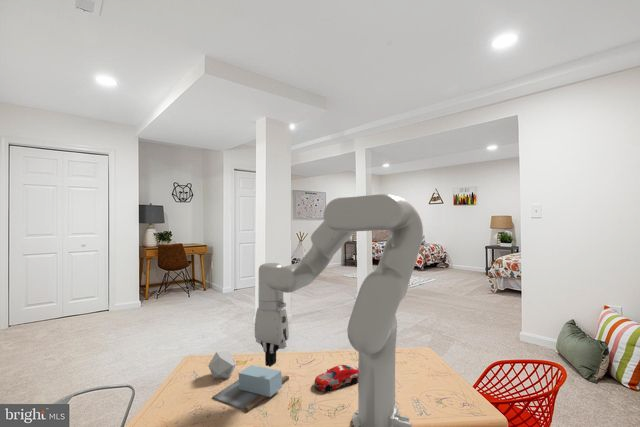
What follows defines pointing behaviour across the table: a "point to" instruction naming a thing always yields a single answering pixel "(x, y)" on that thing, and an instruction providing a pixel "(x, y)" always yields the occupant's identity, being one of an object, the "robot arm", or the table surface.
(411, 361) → the table surface
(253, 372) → the tall block
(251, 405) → the mat
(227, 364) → the die
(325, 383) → the race car
